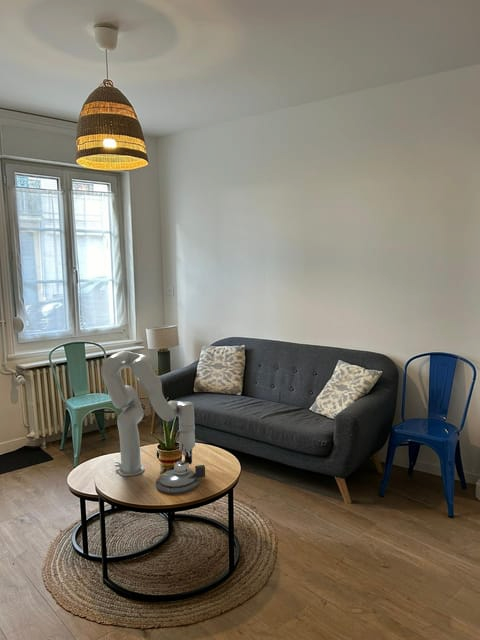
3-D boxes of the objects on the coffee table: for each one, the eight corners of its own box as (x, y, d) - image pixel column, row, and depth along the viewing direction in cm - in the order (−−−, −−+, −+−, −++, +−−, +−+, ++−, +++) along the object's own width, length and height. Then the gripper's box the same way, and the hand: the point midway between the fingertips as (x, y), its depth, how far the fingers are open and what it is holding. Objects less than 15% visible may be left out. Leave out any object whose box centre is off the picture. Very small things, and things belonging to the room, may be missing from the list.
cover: (171, 474, 224) (170, 466, 224) (177, 468, 232) (177, 459, 231) (186, 476, 222) (185, 467, 222) (192, 469, 229) (191, 461, 229)
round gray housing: (152, 485, 217) (152, 475, 216) (168, 470, 233) (168, 460, 232) (194, 490, 211) (193, 479, 210) (207, 474, 227) (207, 464, 226)
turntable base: (148, 491, 216) (148, 486, 216) (167, 473, 235) (167, 468, 235) (189, 496, 210) (188, 491, 210) (205, 477, 229) (205, 472, 229)
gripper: (185, 422, 241) (187, 456, 243) (173, 431, 227) (175, 468, 229) (199, 422, 239) (201, 458, 241) (188, 432, 224) (189, 470, 226)
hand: (188, 463), depth 235 cm, fingers closed
